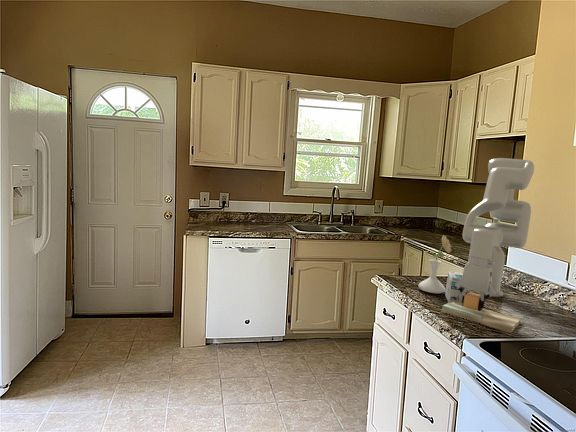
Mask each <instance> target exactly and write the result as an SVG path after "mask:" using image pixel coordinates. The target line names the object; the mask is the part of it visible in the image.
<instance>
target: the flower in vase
mask: <svg viewBox="0 0 576 432" xmlns="http://www.w3.org/2000/svg"><path fill="white" fill-rule="evenodd" d="M441 244H442V246H441V247H440V249H439V250H438V253H437V254H436V253H434V254H433V255H432V257H434V258H436V259H432V258H431V259H429V262H430V266H431V267H430V268H431V272H430V276H429V277H428V278H426V279H424V280H422V281H421V282H419V284H418V288H419V289H420V290H422V291H423V292H427V293H428V294H429V293H430V294H443V293H446V286H444V284H443V283H442V282H441V281H440V280H439V278H437V274H438V273H437V272H438V268H439V266H440V265H441V263H442V261H441V260H439V259H438V258H439V257H440V258H444V256H445V254H444V253H443V252H442V251H441V250H442V249H444V250H445V252H447V253H448V254H449V253H451V252H452V245H451V243H450V240H449V239H448V238H447V236H446V235H444V234H443V235H442V237H441Z"/></svg>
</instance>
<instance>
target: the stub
mask: <svg viewBox="0 0 576 432" xmlns="http://www.w3.org/2000/svg"><path fill="white" fill-rule="evenodd" d="M480 298H481V297H480V294H479V293H476V292H471V291H468V293H467V294H466V295H465V297H464V303H463V307H467V308H471V309H474V310H478V305H479V300H480Z"/></svg>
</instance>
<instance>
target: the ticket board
mask: <svg viewBox="0 0 576 432" xmlns="http://www.w3.org/2000/svg"><path fill="white" fill-rule="evenodd" d="M442 312H444V314H446V313H447V315H449V314H450V316H452V315H453V316H452V317H456V316H457V318H459V317H460V319H462V318H464V319H463V320H466V319H467V321H469V320H470V321H469V322H473V321H474V322H473V323H476V322H477V323H476V324H479V323H480V324H479V325H482V326H486V327H489V328H492V329H493V328H494V329H497V330H500V331H503V332H507V333H511V334H512V332H513V331H514V330H515V329H516V328H517V327H519V325H520V324H521V321H522V319H521V318H518V317H515V316H512V315H507V314H504V313H499V312H496V311H493V310H489V309H486V308H483V309H481V310H480V311H479V310H474V309H471V308H467V307H463V303H461V302H457V301H454V302H452V303H449V302H448V301H447V303H444V305H442V308H441V313H442Z"/></svg>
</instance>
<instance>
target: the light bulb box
mask: <svg viewBox="0 0 576 432" xmlns="http://www.w3.org/2000/svg"><path fill="white" fill-rule="evenodd" d="M462 275H463V272H457V271H456V272H455V271H450V270H449V271H447V277H446V278H447V279H446V286H445V289H446V291H445V292H444V293H445V294H444V296H445V298H446V300H447V303H448V302H449V303H452V302H454V301H457V302H461V303H462V297H463V295H462V293H461V292H460V290H459V289H458V288H457V287H456V285H455V284H456V283H457V282H458V281H459V280H461V279H462Z"/></svg>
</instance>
